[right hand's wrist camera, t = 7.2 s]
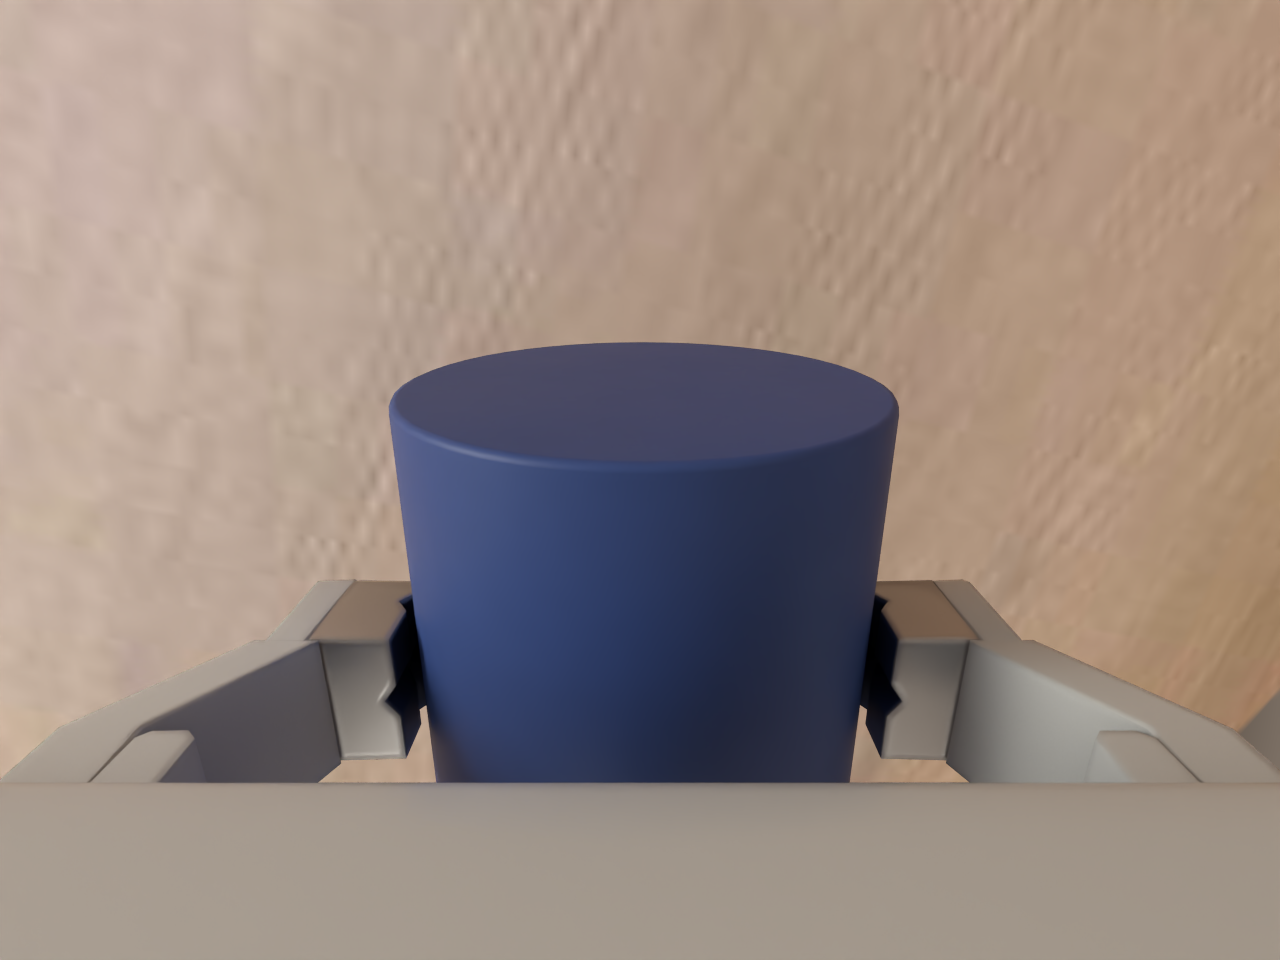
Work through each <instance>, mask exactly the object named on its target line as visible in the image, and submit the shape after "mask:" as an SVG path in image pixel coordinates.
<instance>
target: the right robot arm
mask: <svg viewBox="0 0 1280 960" xmlns="http://www.w3.org/2000/svg"><path fill="white" fill-rule="evenodd" d="M425 705H426V697H425V689H424V681H423V674H422V666H421V658H420V650H419V643H418V635H417V627H416V619H415V612H414V604H413V596H412V588H411V581H365V580H360V581H357V580H325V581H318V582H317V583H316V584H315V585H314V586H313V587H312V588H311V589H310V591H309V592H308V593H307V594H306V595H305V596H304V597H303V599H302V600H301V601H300V602H299V603H298V604H297V605H296V607H295V608H294V609H293V610H292V611H291V612H290V613H289V614H288V616H287V617H286V618H285V619H284V620H283V621H282V622H281V624H280V625H279V626H278V627H277V628H276V629H275V630H274V631H273V633H272V634H271V635H270V636H269V637H268V638H267V639H266V640H254V641H252V642H249V643H247V644H245V645H243V646H240V647H238V648H236V649H234V650H231V651H229V652H227V653H225V654H222V655H220V656H218V657H216V658H213V659H211V660H209V661H207V662H205V663H202V664H200V665H198V666H196V667H193V668H191V669H189V670H187V671H184V672H182V673H180V674H178V675H175V676H173V677H171V678H169V679H166V680H164V681H162V682H160V683H158V684H155V685H153V686H151V687H149V688H146V689H144V690H142V691H140V692H137V693H135V694H133V695H131V696H128V697H126V698H124V699H122V700H119V701H117V702H115V703H113V704H111V705H108V706H106V707H104V708H102V709H99V710H97V711H95V712H93V713H90V714H88V715H86V716H84V717H81V718H79V719H77V720H75V721H72V722H70V723H68V724H66V725H63V726H61V727H59V728H58V729H57V730H55V731H54V732H53V733H52V734H51V735H50V736H49V737H47V738H46V739H45V740H44V741H43V742H42V743H41V744H40V745H38V746H37V747H36V748H35V749H34V750H33V751H32V752H31V753H29V754H28V755H27V756H26V757H25V758H24V759H23V760H21V761H20V762H19V763H18V764H17V765H16V766H15V767H14V768H12V769H11V770H10V771H9V772H8V773H7V774H6V775H5V776H3V777H2V778H1V779H0V960H1280V770H1279V769H1278V768H1277V767H1276V766H1275V765H1274V764H1272V763H1271V762H1270V761H1269V760H1268V759H1267V758H1266V757H1264V756H1263V755H1262V754H1261V753H1260V752H1259V751H1258V750H1256V749H1255V748H1254V747H1253V746H1252V745H1251V744H1250V743H1248V742H1247V741H1246V740H1245V739H1244V738H1243V737H1242V736H1240V735H1239V734H1238V733H1237V732H1236V731H1235V730H1234V729H1232V728H1230V727H1228V726H1225V725H1223V724H1221V723H1219V722H1216V721H1214V720H1212V719H1210V718H1207V717H1205V716H1203V715H1201V714H1198V713H1196V712H1194V711H1192V710H1189V709H1187V708H1185V707H1183V706H1180V705H1178V704H1176V703H1174V702H1171V701H1169V700H1167V699H1165V698H1162V697H1160V696H1158V695H1156V694H1153V693H1151V692H1149V691H1147V690H1144V689H1142V688H1140V687H1138V686H1135V685H1133V684H1131V683H1129V682H1126V681H1124V680H1122V679H1120V678H1117V677H1115V676H1113V675H1111V674H1108V673H1106V672H1104V671H1102V670H1099V669H1097V668H1095V667H1093V666H1090V665H1088V664H1086V663H1084V662H1081V661H1079V660H1077V659H1075V658H1072V657H1070V656H1068V655H1066V654H1063V653H1061V652H1059V651H1057V650H1054V649H1052V648H1050V647H1048V646H1045V645H1043V644H1041V643H1038V642H1036V641H1034V640H1021V639H1020V638H1019V636H1018V635H1017V634H1016V633H1015V632H1014V631H1013V630H1012V629H1011V628H1010V626H1009V625H1008V624H1007V623H1006V622H1005V621H1004V620H1003V619H1002V618H1001V616H1000V615H999V614H998V613H997V612H996V611H995V610H994V609H993V608H992V606H991V605H990V604H989V603H988V602H987V601H986V600H985V599H984V597H983V596H982V595H981V594H980V593H979V592H978V591H977V590H976V589H975V587H974V586H973V585H972V584H971V583H970V582H968V581H965V580H962V579H961V580H939V581H932V580H920V581H878V582H876V589H875V597H874V604H873V612H872V619H871V626H870V634H869V641H868V649H867V656H866V664H865V671H864V678H863V686H862V693H861V701H860V705H861V706H863V707H864V708H866V709H867V716H866V726H867V728H868V730H869V733H870V735H871V737H872V739H873V742H874V744H875V746H876V748H877V750H878V753H879V755H880V757H881V758H882V759H919V760H946V763H947V764H948V765H949V766H950V767H951V768H953V769H954V770H955V771H956V772H958V773H959V774H960V775H961V776H962V777H964V778H965V779H966V780H967V781H969V782H970V783H318V782H319V781H320V780H322V779H323V778H324V777H325V776H326V775H328V774H329V773H330V772H331V771H332V770H334V769H335V768H336V767H337V766H339V765H340V764H341V760H368V759H403V758H407V755H408V753H409V751H410V748H411V746H412V744H413V742H414V739H415V737H416V735H417V732H418V730H419V728H420V725H421V718H420V710H419V709H421V708H422V707H424V706H425Z"/></svg>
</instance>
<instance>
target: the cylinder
mask: <svg viewBox="0 0 1280 960" xmlns="http://www.w3.org/2000/svg"><path fill="white" fill-rule="evenodd" d="M389 417H390V425H391V433H392V441H393V448H394V456H395V464H396V472H397V479H398V487H399V495H400V503H401V511H402V518H403V526H404V534H405V542H406V549H407V557H408V565H409V573H410V580H411V588H412V596H413V604H414V612H415V619H416V627H417V635H418V643H419V650H420V658H421V666H422V674H423V681H424V689H425V697H426V705H427V713H428V720H429V728H430V736H431V744H432V751H433V759H434V767H435V775H436V782H437V783H849V782H850V775H851V767H852V760H853V753H854V745H855V738H856V730H857V723H858V715H859V708H860V701H861V693H862V686H863V678H864V671H865V664H866V656H867V649H868V641H869V634H870V626H871V619H872V612H873V604H874V597H875V589H876V582H877V574H878V567H879V560H880V552H881V545H882V537H883V530H884V523H885V515H886V508H887V500H888V493H889V485H890V478H891V471H892V463H893V456H894V448H895V441H896V434H897V426H898V419H899V406H898V403H897V400H896V398H895V397H894V395H893V393H892V392H891V391H890V390H889V389H887V388H886V387H885V386H884V385H882V384H881V383H879V382H877V381H876V380H874V379H872V378H870V377H868V376H865V375H863V374H861V373H858V372H856V371H854V370H851V369H848V368H845V367H842V366H839V365H835V364H832V363H828V362H824V361H821V360H816V359H812V358H807V357H803V356H797V355H792V354H786V353H780V352H774V351H766V350H759V349H751V348H742V347H732V346H720V345H706V344H689V343H649V342H636V343H595V344H578V345H564V346H552V347H542V348H533V349H525V350H518V351H511V352H504V353H498V354H493V355H487V356H482V357H478V358H473V359H469V360H464V361H461V362H457V363H453V364H450V365H447V366H444V367H441V368H438V369H435V370H432V371H430V372H427V373H425V374H423V375H421V376H418V377H416V378H414V379H412V380H411V381H409V382H407V383H406V384H404V385H403V386H402V387H400V388H399V389H398V390H397V391H396V392H395V393H394V395H393V397H392V399H391V402H390V405H389Z"/></svg>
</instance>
